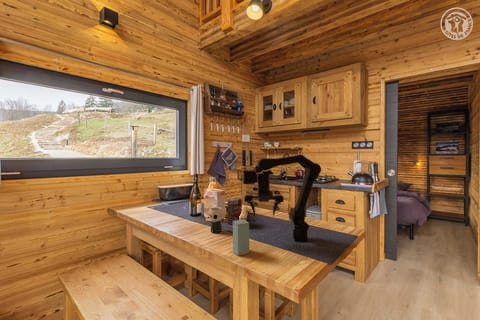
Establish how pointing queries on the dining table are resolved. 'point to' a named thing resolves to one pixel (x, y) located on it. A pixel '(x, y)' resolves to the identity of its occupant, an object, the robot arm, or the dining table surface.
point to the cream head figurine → (216, 218)
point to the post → (241, 254)
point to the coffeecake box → (213, 200)
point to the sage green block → (241, 236)
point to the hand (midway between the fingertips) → (264, 215)
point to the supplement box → (234, 210)
